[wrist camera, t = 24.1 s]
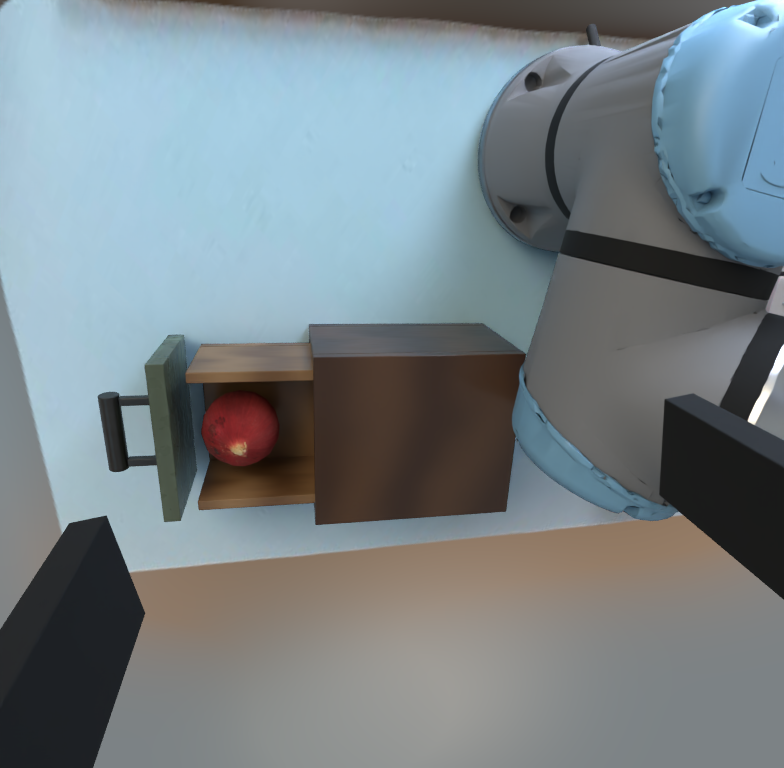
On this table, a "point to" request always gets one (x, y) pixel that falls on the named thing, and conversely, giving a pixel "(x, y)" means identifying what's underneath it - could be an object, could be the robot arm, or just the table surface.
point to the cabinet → (411, 420)
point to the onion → (240, 428)
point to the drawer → (174, 417)
